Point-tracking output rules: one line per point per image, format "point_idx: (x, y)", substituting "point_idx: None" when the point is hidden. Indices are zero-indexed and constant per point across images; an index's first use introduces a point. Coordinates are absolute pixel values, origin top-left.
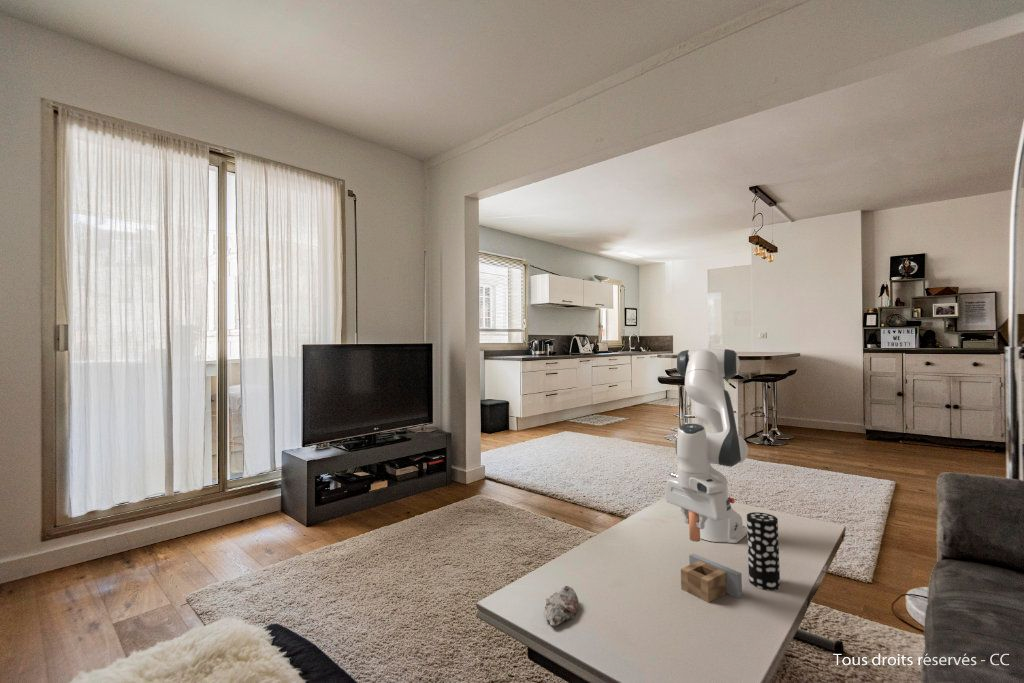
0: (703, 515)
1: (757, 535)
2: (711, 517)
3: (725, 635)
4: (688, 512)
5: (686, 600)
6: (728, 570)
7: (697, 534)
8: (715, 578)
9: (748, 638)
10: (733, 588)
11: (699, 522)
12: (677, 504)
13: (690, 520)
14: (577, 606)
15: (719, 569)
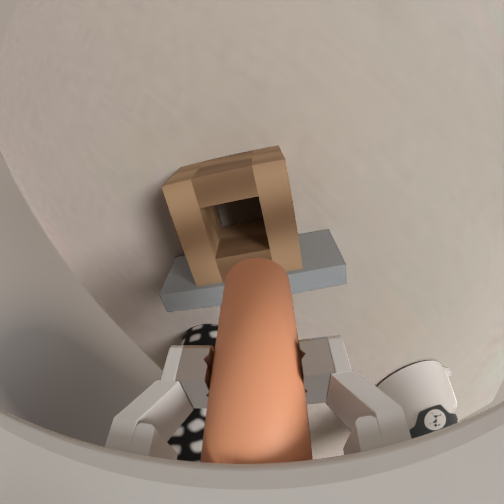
0: (65, 440)
1: (176, 439)
2: (3, 423)
3: (59, 112)
4: (348, 425)
5: (216, 113)
6: (192, 294)
7: (221, 309)
8: (177, 229)
9: (43, 155)
10: (183, 265)
11: (166, 385)
12: (455, 441)
13: (256, 368)
14: None
15: (219, 281)
